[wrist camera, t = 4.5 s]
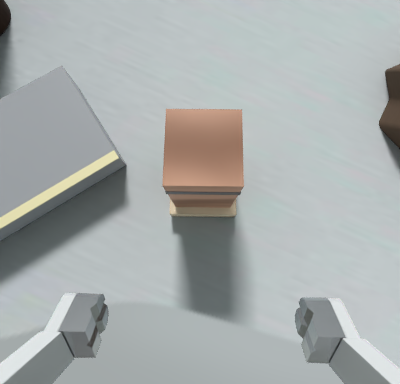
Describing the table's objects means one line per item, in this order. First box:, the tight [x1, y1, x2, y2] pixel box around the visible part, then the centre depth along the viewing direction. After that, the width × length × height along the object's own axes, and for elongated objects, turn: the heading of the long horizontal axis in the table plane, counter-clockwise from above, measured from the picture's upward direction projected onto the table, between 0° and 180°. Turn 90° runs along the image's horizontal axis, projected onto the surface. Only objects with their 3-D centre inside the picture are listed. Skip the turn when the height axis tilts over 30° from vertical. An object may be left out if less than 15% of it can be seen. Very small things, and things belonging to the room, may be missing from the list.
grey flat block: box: [0, 66, 126, 241], centre depth 23 cm, size 16×10×3 cm, turn 123°
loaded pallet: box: [163, 109, 244, 217], centre depth 20 cm, size 6×6×9 cm
